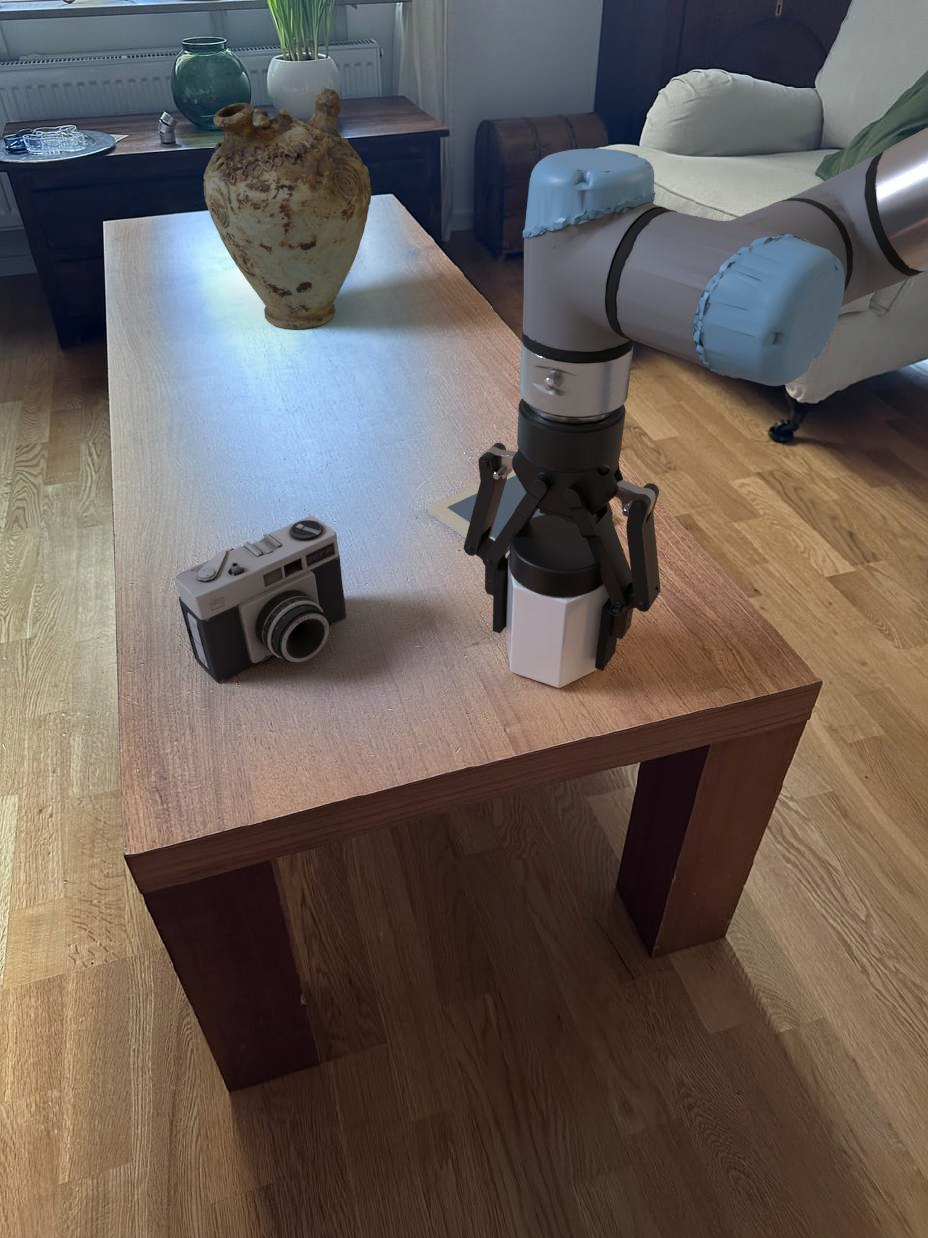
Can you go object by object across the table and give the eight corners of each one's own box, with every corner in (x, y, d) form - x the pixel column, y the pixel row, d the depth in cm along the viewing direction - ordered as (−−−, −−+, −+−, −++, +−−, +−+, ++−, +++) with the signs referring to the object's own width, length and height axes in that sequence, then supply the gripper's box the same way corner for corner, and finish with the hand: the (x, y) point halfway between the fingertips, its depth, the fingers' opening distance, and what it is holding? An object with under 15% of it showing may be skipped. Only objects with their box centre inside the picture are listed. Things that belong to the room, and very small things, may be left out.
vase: (403, 331, 129) (367, 96, 109) (243, 361, 126) (178, 127, 107) (378, 280, 146) (344, 70, 127) (238, 306, 144) (181, 96, 124)
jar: (616, 640, 78) (632, 528, 71) (583, 699, 73) (597, 584, 65) (523, 612, 81) (529, 501, 74) (485, 666, 76) (487, 552, 68)
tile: (613, 521, 93) (614, 514, 93) (516, 573, 86) (517, 566, 86) (522, 469, 101) (523, 462, 101) (427, 513, 94) (427, 505, 94)
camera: (226, 710, 72) (202, 613, 66) (188, 651, 78) (162, 557, 72) (375, 647, 78) (365, 553, 72) (328, 597, 84) (315, 506, 78)
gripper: (412, 387, 63) (423, 626, 78) (706, 461, 55) (657, 713, 70) (464, 350, 68) (465, 580, 83) (741, 413, 60) (688, 657, 75)
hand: (553, 641), depth 76 cm, fingers closed on jar, 9 cm apart
